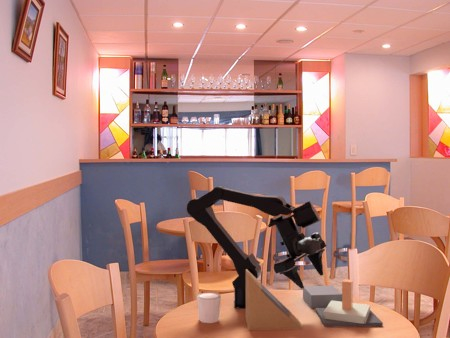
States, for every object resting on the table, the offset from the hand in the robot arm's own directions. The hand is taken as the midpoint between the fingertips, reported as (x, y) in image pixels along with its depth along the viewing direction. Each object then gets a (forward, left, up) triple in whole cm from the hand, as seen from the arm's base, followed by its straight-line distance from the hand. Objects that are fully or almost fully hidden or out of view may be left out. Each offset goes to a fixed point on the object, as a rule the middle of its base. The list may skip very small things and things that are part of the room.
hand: (312, 281), depth 147 cm
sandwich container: (-13, -11, -9) cm, 19 cm away
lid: (+9, -7, -8) cm, 14 cm away
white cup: (-31, -7, -9) cm, 33 cm away
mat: (+9, -7, -9) cm, 14 cm away
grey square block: (+5, +8, -9) cm, 13 cm away
